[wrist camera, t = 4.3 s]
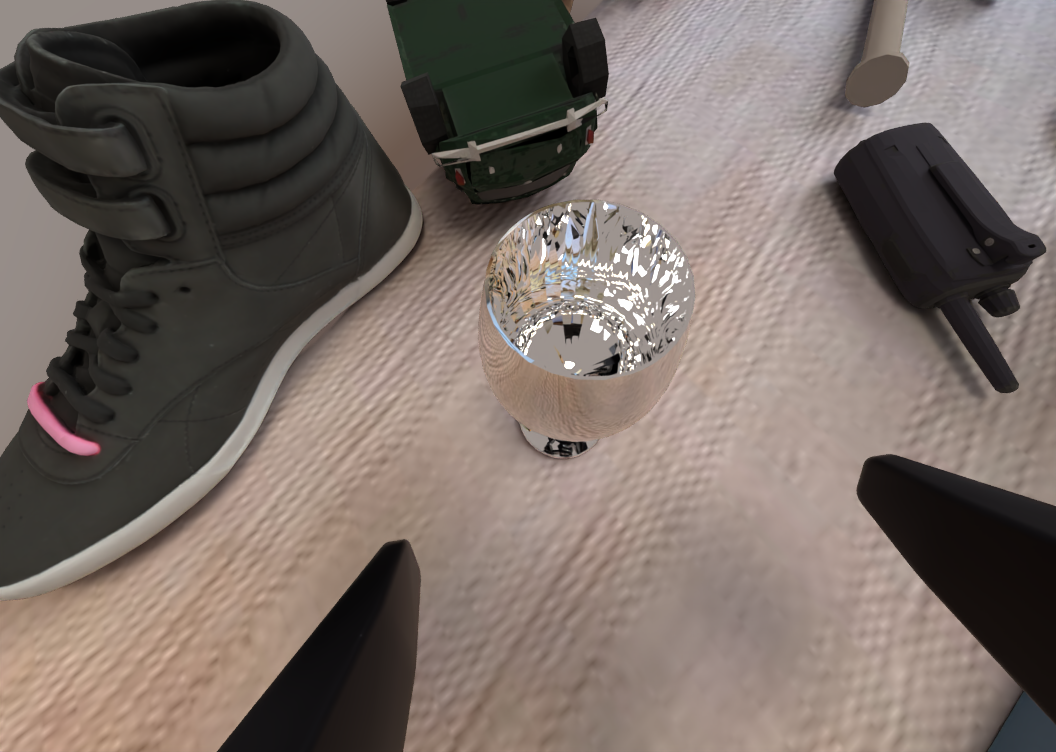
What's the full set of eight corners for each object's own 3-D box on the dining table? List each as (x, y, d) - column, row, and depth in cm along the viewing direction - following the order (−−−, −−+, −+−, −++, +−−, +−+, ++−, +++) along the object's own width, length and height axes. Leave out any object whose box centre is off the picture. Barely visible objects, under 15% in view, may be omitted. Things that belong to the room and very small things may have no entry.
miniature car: (363, -71, 23) (417, 77, 30) (410, 130, 16) (465, 258, 23) (511, -121, 23) (529, 40, 30) (625, 60, 16) (611, 211, 23)
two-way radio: (815, 178, 24) (947, 407, 20) (871, 110, 20) (1056, 380, 15) (899, 161, 25) (1051, 384, 20) (972, 89, 20) (1189, 350, 16)
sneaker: (-6, 522, 19) (-943, 512, 7) (340, 167, 26) (155, -135, 14) (111, 648, 17) (-1003, 946, 5) (457, 220, 24) (353, -90, 12)
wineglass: (526, 489, 19) (504, 447, 8) (491, 381, 21) (431, 220, 9) (638, 449, 19) (774, 354, 8) (593, 347, 21) (653, 155, 10)
